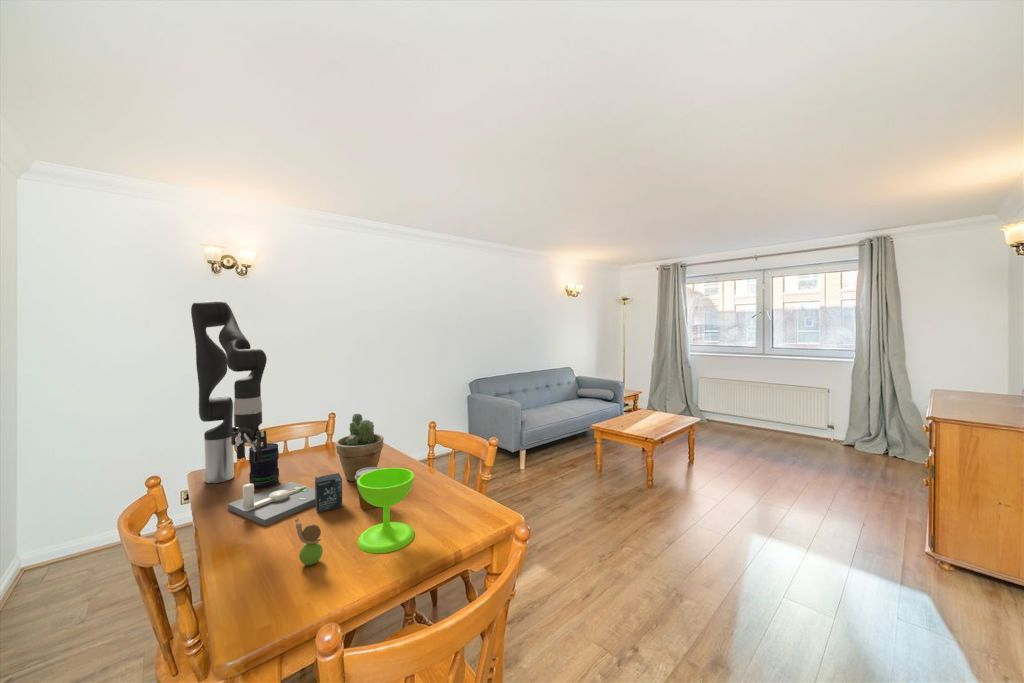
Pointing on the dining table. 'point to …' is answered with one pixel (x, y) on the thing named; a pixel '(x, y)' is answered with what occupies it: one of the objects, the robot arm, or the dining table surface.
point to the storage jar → (265, 467)
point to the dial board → (276, 504)
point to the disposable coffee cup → (362, 502)
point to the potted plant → (359, 447)
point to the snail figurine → (309, 543)
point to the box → (328, 492)
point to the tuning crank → (274, 496)
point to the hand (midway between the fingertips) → (249, 460)
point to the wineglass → (385, 508)
